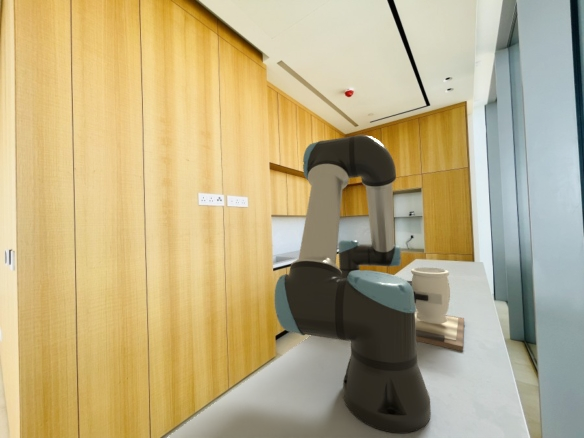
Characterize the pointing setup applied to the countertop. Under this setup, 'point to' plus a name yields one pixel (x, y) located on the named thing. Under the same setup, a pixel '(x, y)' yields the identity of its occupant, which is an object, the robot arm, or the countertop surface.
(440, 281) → the jar
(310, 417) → the countertop surface
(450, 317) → the clipboard
